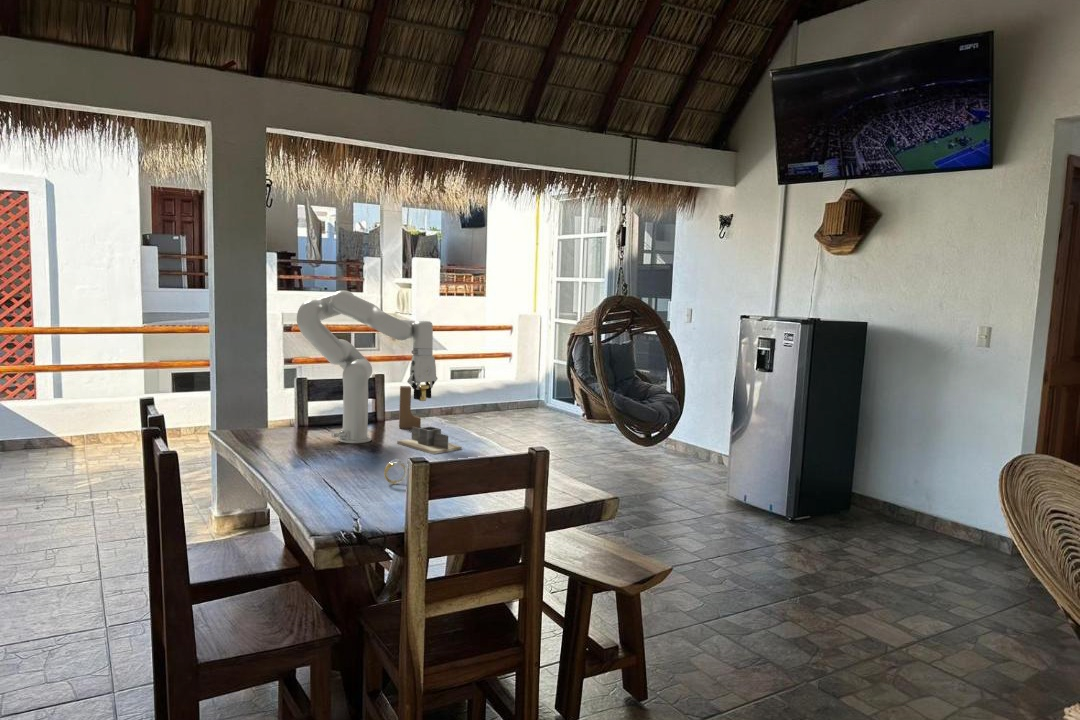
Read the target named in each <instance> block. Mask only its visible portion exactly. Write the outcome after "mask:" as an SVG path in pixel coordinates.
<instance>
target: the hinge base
mask: <svg viewBox="0 0 1080 720" xmlns="http://www.w3.org/2000/svg"><path fill="white" fill-rule="evenodd" d="M396 443H397V444H398V445H401V446H405V447H408V448H411V449H414V450H418V451H420V452H421V451H422V452H424V453H428V454H431V455H436V454H441V453H447V452H453V451H460V450H462V449H463V448H462V446H461V445H457V444H453V443H449V435H446V434H443V433H442V429H441V428H438V427H435V426H425V427H420V428H417V427H412V429H411V438H410V439H409V438H408V439H402V440H397V442H396Z"/></svg>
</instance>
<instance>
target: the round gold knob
mask: <svg viewBox="0 0 1080 720" xmlns="http://www.w3.org/2000/svg"><path fill="white" fill-rule="evenodd" d="M428 388H429V385H426V384H420V387H419V390H420V400H418V401H419V402H425V401H427V398H426V389H428Z"/></svg>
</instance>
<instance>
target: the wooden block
mask: <svg viewBox="0 0 1080 720" xmlns="http://www.w3.org/2000/svg"><path fill="white" fill-rule="evenodd" d="M411 397H412V386H411V385H410V386H409V385H408V386H407V385H400V387H399V408H398V409H399V411H398V413H399V417H398V428H399V429H401V430H402V429H403V430H406V429H408V430H412V427H417V428H421V424H422V423H421V422H422V420H421V417H420V416H417V415H414V414H413V413H412V410H411V406H412V405H411V403H412V401H411V400H412V398H411Z"/></svg>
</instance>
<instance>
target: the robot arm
mask: <svg viewBox="0 0 1080 720" xmlns="http://www.w3.org/2000/svg"><path fill="white" fill-rule="evenodd" d="M339 315H344V316H346V317H348V318H350V319H353V320H355V321H357V322H359V323H361V324H363V325H366V327H369V328H371V329H374V330H376V331H378V332H380V333H381V334H383V335H386V336H387V337H390V338H392V339H394V340H397V341H405V340H408V339H413V340H412V346H413V347H412V350H411V354H412V356H411V359H410V369H409V377H408V379H407V380H406V381H407V382H406V383H408V384H409V385H410V387H411V389H412V390H413V399H414V400H418V401H419V400H420V390H419V387H420V385H421V384H422V383H424V385H429V388H428V389H426V399H432V389H433V386H434V385H435V383H436V382H437V380H438V377H437V365H436V359H435V356H434V355H433V347H434V346H433V345H434V344H433V343H434V341H433V339H434V338H433V337H434V333H433V332H434V331H433V329H434V328H433V326H434V325H433V323H432V322H431V321H428V320H418V321H417V320H416V321H415V320H414V321H413V320H408V319H399V318H397V317H395V316H392V315H390V314H389V313H386V312H384V311H383V310H382V309H380V307H379V306H377V305H376V304H375V303H372V302H370V301H368V300H365V299H363V298H360V297H358V296H357V295H355V294H354V293H353V292H351V291H350V290H338V291H335V292H334V293H333V294H330V295H327V296H323V297H320V298H315V299H307V300H305V301H304V302H302V303H301V305H300V306H299V308H298V309H297V313H296V324H297V327H298V329H299V331H300V333H301V334H302V335H303V336H304V338H305V339H306V340H307V341H308V342H309V343H310V344H311V345H312V346H313V347H314V349H316V350H317V352H318V353H320V354H321V355H322V356H323V358H325V359H326V360H327V362H329V363H330V364H331V365H337V366H339V367H341V369H342V370H343V371H342V387H343V388H342V391H343V395H342V402H343V404H342V405H343V406H342V428H341V429H339V431H338V432H331V438H333V439H335V438H338V439H337V440H338V441H339V442H340V443H345V444H365V443H369V442H371V441H372V436H370V435H368V427H369V426H368V425H369V424H368V423H369V421H368V419H369V379H370V377H371V376H372V374H373V366H372V363H371V362H370V361H369V360H368V359H367V358H366V357H365V356H364V354H362V353H361V352H360V351H359V350H358V349H357V348H356V347H355V346H354V345H353V344H352V343H351V342H349V341H348V340H346V339H342V338H341V339H340V338H338V337H337V336H336V335H334V334H333V333H332V331H330V329H328V327H326V326H325V325H324V324H323V323H322V321H323V320H326V319H329V318H332V317H333V318H334V317H336V316H339Z"/></svg>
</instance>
